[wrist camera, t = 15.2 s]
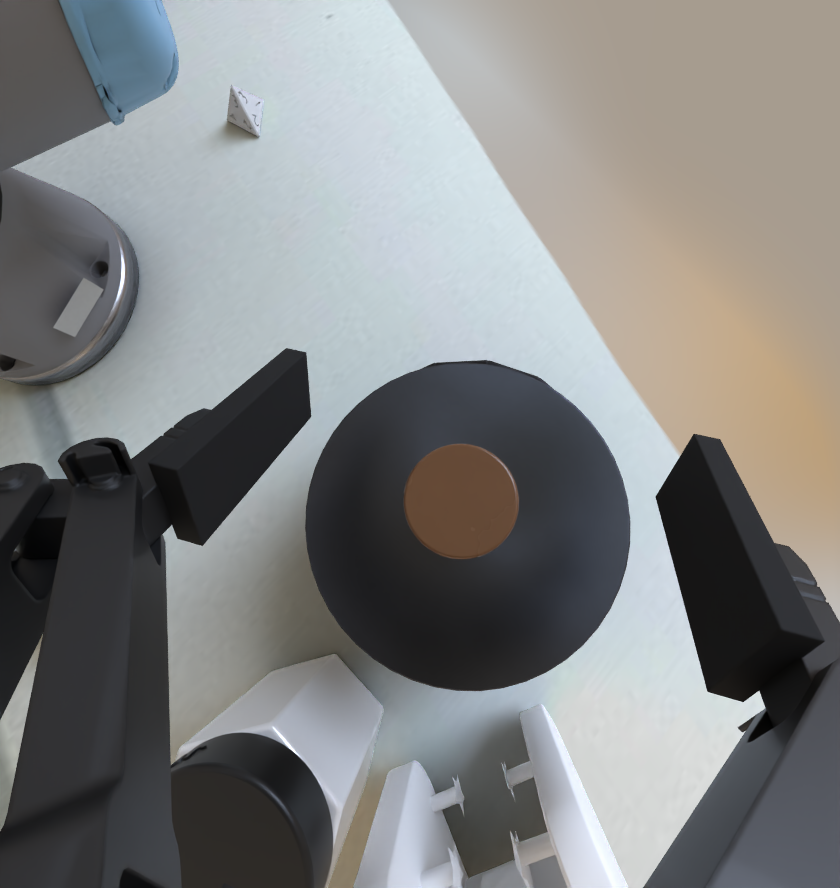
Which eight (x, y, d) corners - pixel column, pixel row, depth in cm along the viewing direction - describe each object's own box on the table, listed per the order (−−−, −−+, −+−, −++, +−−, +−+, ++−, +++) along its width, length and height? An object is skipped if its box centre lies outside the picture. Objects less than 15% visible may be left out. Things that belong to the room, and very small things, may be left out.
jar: (278, 634, 29) (145, 724, 17) (395, 671, 27) (340, 794, 16) (240, 776, 28) (68, 978, 16) (359, 820, 26) (272, 1073, 15)
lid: (254, 534, 21) (68, 535, 11) (441, 318, 22) (423, 148, 12) (486, 758, 18) (515, 1034, 8) (686, 495, 19) (919, 457, 9)
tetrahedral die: (240, 111, 36) (209, 79, 34) (264, 99, 35) (234, 65, 32) (235, 148, 36) (203, 118, 33) (259, 137, 34) (228, 105, 32)
